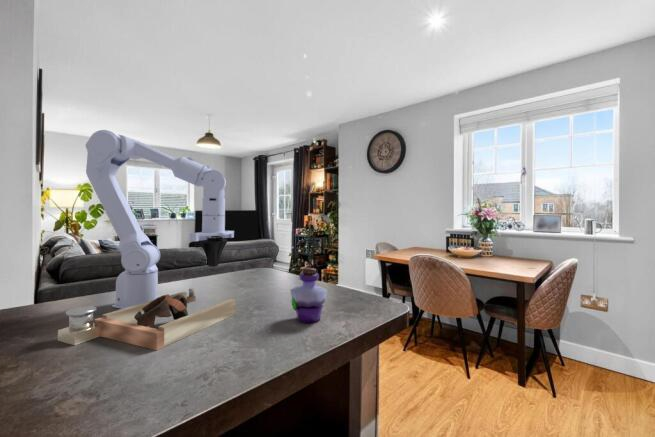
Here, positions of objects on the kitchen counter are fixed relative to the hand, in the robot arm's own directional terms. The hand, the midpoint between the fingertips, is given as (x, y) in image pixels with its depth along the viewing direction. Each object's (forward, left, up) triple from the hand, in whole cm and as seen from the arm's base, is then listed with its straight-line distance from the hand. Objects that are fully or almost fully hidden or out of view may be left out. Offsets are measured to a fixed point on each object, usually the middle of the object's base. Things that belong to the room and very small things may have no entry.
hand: (213, 266), depth 83 cm
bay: (+3, -15, -10) cm, 18 cm away
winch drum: (-6, -29, -10) cm, 31 cm away
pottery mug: (+5, -18, -10) cm, 21 cm away
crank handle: (-6, -3, -10) cm, 12 cm away
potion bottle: (+29, -1, -10) cm, 31 cm away
